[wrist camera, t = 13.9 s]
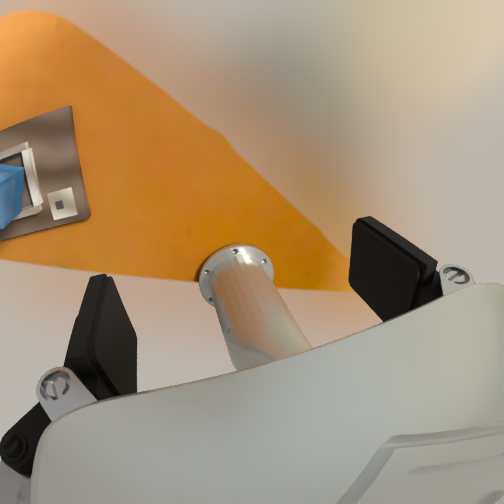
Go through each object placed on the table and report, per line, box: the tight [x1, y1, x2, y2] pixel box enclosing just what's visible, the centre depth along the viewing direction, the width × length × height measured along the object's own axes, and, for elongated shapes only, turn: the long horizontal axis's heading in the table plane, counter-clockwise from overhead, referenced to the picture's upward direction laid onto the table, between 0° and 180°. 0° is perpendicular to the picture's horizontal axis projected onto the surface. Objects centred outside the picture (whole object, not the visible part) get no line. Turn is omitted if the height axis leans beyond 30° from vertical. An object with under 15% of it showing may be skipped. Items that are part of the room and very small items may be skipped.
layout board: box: [0, 106, 91, 241], centre depth 30 cm, size 16×19×3 cm
